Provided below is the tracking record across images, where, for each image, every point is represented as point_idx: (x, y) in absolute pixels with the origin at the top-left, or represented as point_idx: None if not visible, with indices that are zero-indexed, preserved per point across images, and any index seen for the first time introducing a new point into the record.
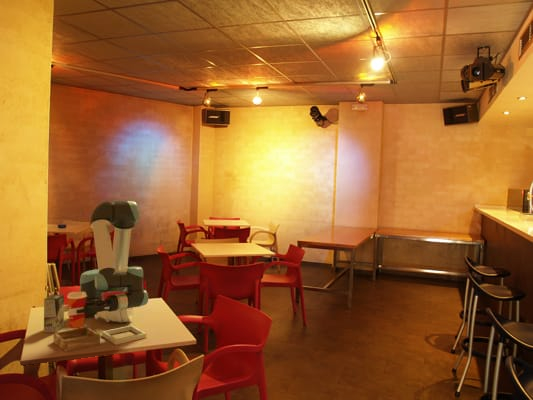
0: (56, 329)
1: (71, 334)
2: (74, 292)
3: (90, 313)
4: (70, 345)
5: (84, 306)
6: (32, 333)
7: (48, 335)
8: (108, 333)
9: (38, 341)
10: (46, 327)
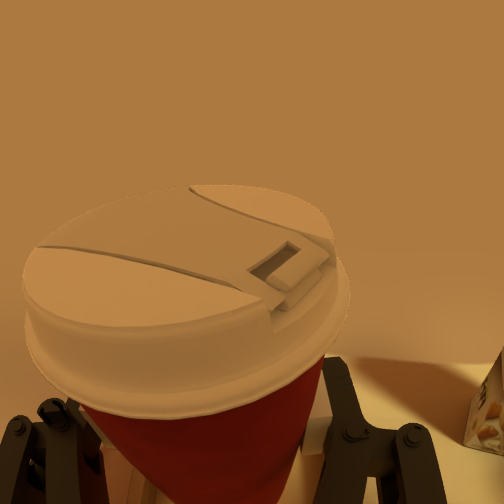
0: (469, 436)
1: None
2: (271, 215)
3: (35, 465)
4: None
5: (61, 401)
6: (467, 368)
7: (432, 417)
8: None
9: (366, 384)
10: (479, 393)
